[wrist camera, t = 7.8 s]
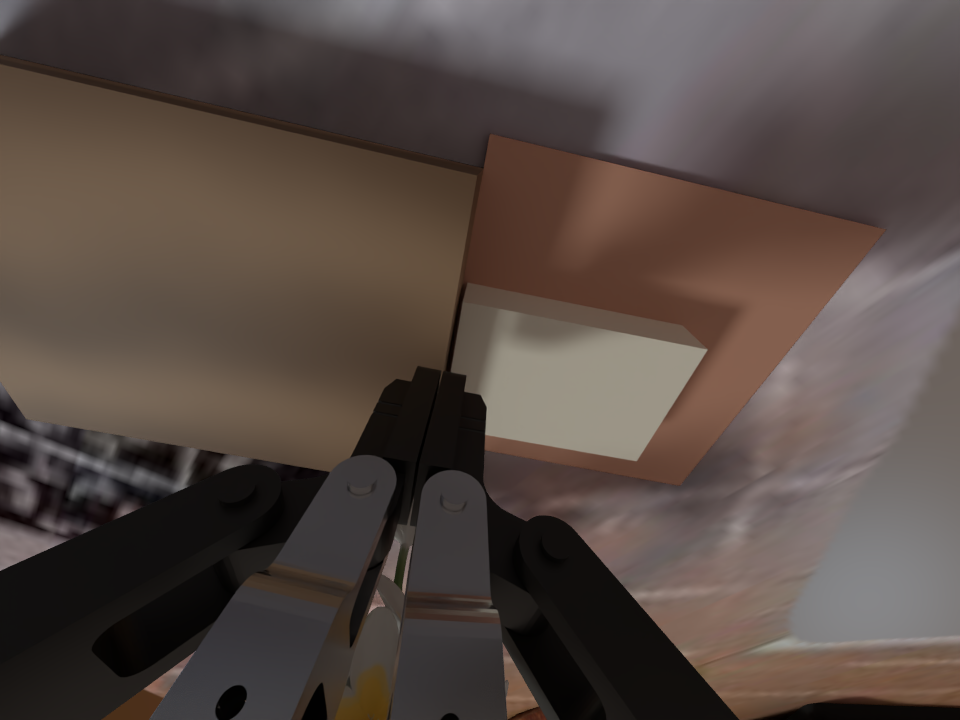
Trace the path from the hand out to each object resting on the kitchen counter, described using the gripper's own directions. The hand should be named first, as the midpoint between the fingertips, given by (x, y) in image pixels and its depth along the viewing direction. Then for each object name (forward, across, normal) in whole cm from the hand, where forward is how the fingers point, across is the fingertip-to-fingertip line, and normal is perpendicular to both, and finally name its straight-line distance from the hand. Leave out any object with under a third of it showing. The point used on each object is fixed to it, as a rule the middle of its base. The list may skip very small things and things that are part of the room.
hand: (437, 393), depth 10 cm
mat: (+5, -7, 0) cm, 9 cm away
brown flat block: (+5, +8, 0) cm, 9 cm away
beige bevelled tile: (+5, -5, +1) cm, 7 cm away
